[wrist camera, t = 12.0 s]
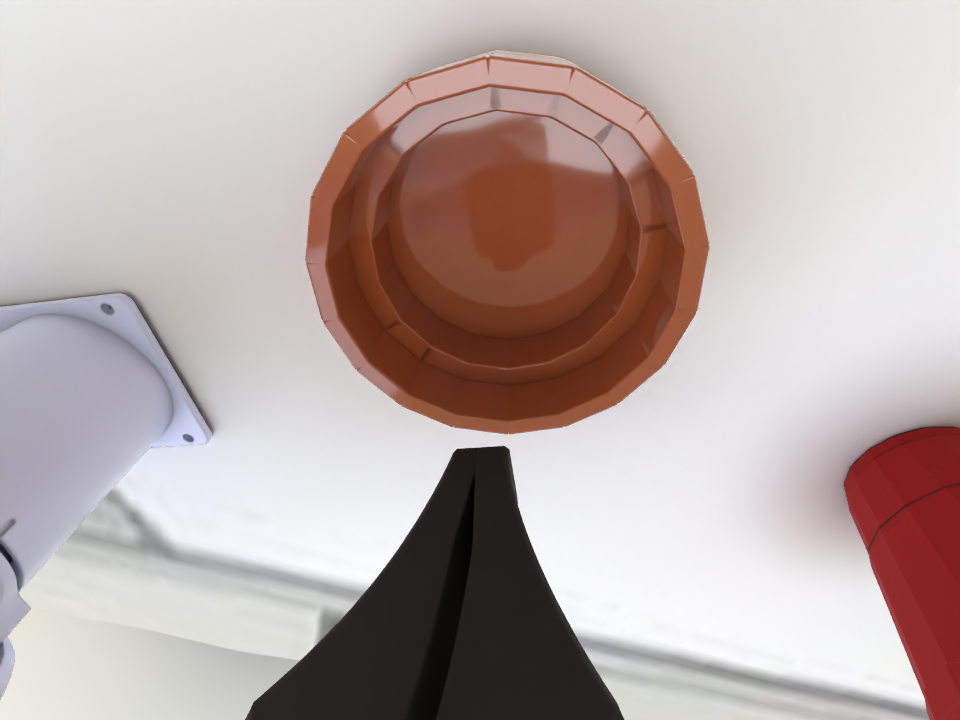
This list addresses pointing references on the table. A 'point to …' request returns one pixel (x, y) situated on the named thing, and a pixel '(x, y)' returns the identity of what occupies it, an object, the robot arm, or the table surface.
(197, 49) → the table surface
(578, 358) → the bowl
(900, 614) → the plastic cup
